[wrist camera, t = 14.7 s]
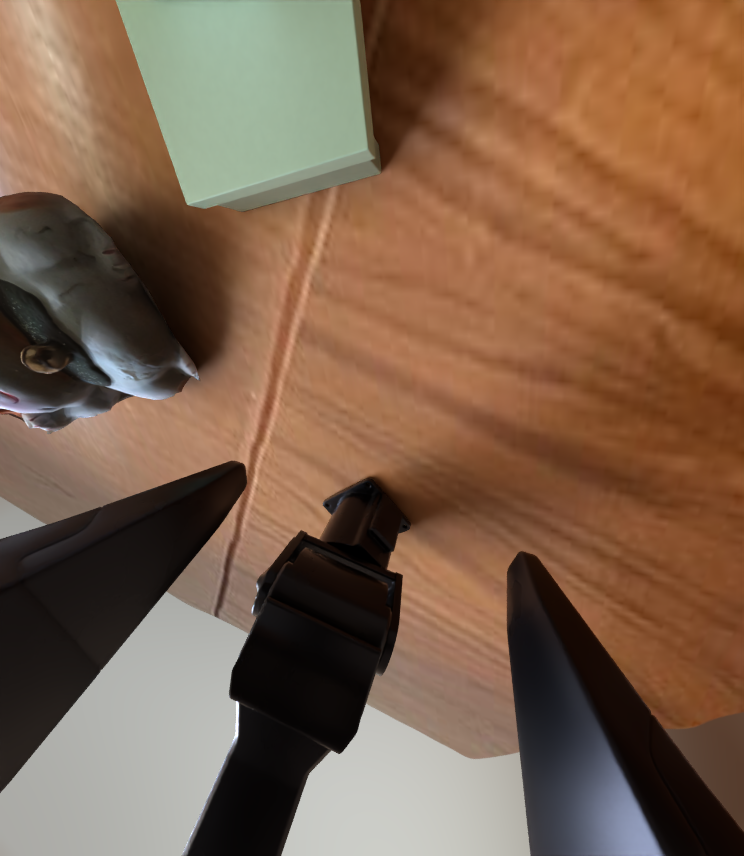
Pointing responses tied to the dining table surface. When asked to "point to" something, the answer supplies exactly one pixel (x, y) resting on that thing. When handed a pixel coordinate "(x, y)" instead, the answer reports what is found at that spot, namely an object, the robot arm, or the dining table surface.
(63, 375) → the lucky cat figurine
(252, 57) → the green lidded box
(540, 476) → the dining table surface
